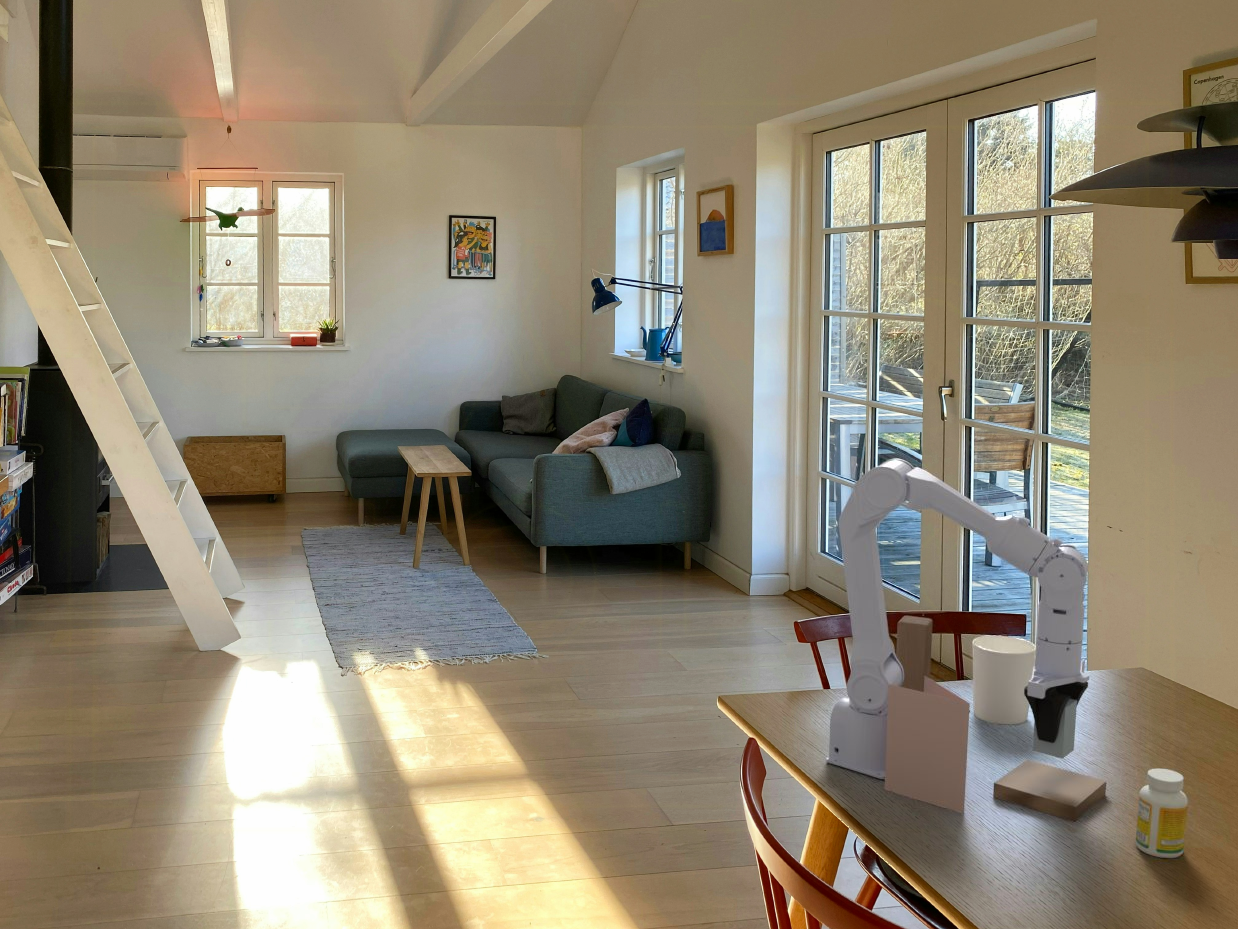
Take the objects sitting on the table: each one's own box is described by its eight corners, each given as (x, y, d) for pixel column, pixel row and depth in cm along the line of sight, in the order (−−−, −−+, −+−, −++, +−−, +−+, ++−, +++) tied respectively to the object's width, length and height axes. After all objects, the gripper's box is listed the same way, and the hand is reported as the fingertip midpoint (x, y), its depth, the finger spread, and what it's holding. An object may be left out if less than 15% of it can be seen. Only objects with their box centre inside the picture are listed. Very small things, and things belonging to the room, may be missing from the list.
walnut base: (993, 797, 157) (993, 783, 156) (1026, 772, 165) (1027, 759, 165) (1074, 821, 149) (1075, 807, 149) (1105, 795, 158) (1106, 781, 157)
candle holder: (1024, 731, 181) (1029, 657, 179) (961, 719, 186) (965, 646, 184) (1038, 712, 189) (1042, 641, 187) (977, 701, 194) (981, 632, 192)
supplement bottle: (1128, 849, 142) (1134, 774, 141) (1144, 835, 146) (1149, 762, 145) (1175, 864, 138) (1181, 787, 137) (1189, 849, 142) (1195, 774, 141)
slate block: (1032, 750, 156) (1035, 700, 155) (1044, 742, 159) (1047, 693, 158) (1062, 758, 153) (1065, 707, 152) (1073, 750, 156) (1076, 700, 155)
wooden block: (957, 735, 179) (963, 622, 176) (951, 745, 175) (957, 629, 172) (899, 725, 183) (903, 614, 180) (892, 734, 179) (897, 621, 176)
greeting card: (969, 813, 152) (975, 702, 150) (918, 819, 150) (924, 707, 148) (925, 778, 163) (930, 675, 161) (877, 783, 161) (881, 679, 159)
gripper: (1068, 656, 146) (1062, 759, 148) (1109, 632, 157) (1103, 728, 159) (1014, 645, 151) (1008, 745, 153) (1057, 622, 161) (1052, 716, 163)
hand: (1053, 736), depth 156 cm, fingers closed on slate block, 4 cm apart
